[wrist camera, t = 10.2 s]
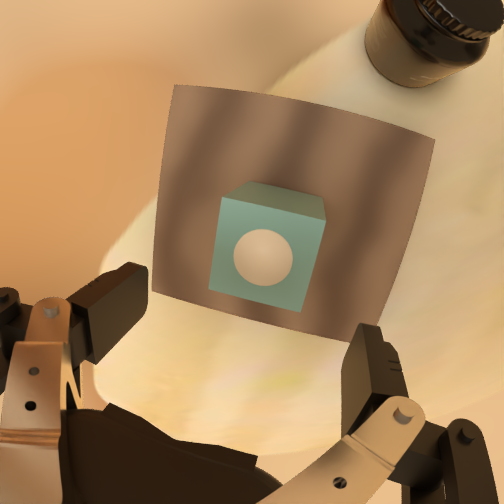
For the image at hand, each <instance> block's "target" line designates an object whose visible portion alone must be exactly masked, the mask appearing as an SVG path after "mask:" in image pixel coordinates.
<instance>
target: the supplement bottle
mask: <svg viewBox="0 0 504 504" xmlns="http://www.w3.org/2000/svg"><path fill="white" fill-rule="evenodd" d="M503 20H504V8H503V3H502V1H501V0H380V3H379V4H378V7H377V9H376V11H375V13H374V15H373V17H372V19H371V21H370V23H369V25H368V28H367V31H366V35H365V45H366V50H367V53H368V55H369V57H370V59H371V61H372V63H373V64H374V65H375V67H376V68H377V69H378V70H379V71H380V72H381V73H382V74H383V75H384V76H386V77H387V78H388V79H390V80H392V81H393V82H395V83H398V84H400V85H403V86H407V87H422V86H426V85H429V84H431V83H434V82H436V81H438V80H440V79H442V78H445V77H447V76H449V75H451V74H453V73H456V72H458V71H460V70H462V69H465V68H467V67H469V66H471V65H473V64H475V63H477V62H478V61H479V60H481V59H482V57H483V56H484V55H485V53H486V51H487V49H488V46H489V41H490V36H491V35H492V34H494V33H496V32H497V31H498V30H500V29H501V26H502V25H503V24H504V21H503Z"/></svg>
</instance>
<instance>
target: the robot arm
mask: <svg viewBox="0 0 504 504" xmlns="http://www.w3.org/2000/svg"><path fill="white" fill-rule="evenodd" d="M147 305H148V269H147V267H146V266H142V265H139V264H136V263H132V262H127V263H125V264H124V265H122V266H121V267H120V268H118V269H117V270H113V271H110V272H106V273H103V274H102V275H100V276H99V277H97V278H96V279H95V280H94V281H91V282H90V283H88V285H85V286H84V287H83V288H81V289H80V290H78V291H77V292H75V293H74V294H72V295H71V296H70V297H68V298H67V299H62V298H59V297H49V298H44V299H42V300H40V301H38V302H37V303H36V304H35V305H34V306H31V305H27V304H22V303H20V298H19V293H18V291H16V290H15V289H13V288H8V287H3V288H0V395H1V394H2V393H3V392H4V391H5V393H4V400H3V407H2V414H1V423H0V504H365V503H366V502H367V501H368V500H369V499H370V498H371V497H372V496H373V494H374V493H375V492H376V491H377V490H378V489H379V487H380V486H381V485H382V484H383V483H384V482H385V480H386V479H388V480H391V481H394V482H397V483H400V484H401V485H402V504H499V502H498V496H497V491H496V486H495V481H494V476H493V472H492V467H491V464H490V459H489V455H488V451H487V448H486V444H485V440H484V437H483V434H482V432H481V430H480V429H479V427H478V426H477V425H475V424H474V423H473V422H471V421H469V420H467V419H455V420H454V421H452V422H451V423H450V424H449V426H448V427H447V428H445V427H442V426H439V425H436V424H433V423H430V422H428V421H426V420H425V414H424V411H423V410H422V408H421V407H420V406H419V405H418V404H417V403H416V402H415V401H413V400H411V399H409V396H408V392H407V388H406V384H405V380H404V376H403V372H402V368H401V364H400V360H399V357H398V353H397V351H396V350H395V349H394V347H393V346H392V345H391V344H390V343H389V342H384V340H383V336H382V332H381V329H380V327H379V326H374V325H370V324H365V323H359V324H358V326H357V328H356V331H355V333H354V335H353V338H352V340H351V343H350V345H349V347H348V350H347V352H346V354H345V357H344V360H343V363H342V369H341V395H342V419H341V440H340V441H338V442H337V443H336V444H335V445H334V446H333V447H331V448H330V449H329V450H328V451H327V452H326V453H325V454H323V455H322V456H321V457H320V458H318V459H317V460H316V461H315V462H313V463H312V464H311V465H310V466H308V467H307V468H306V469H304V470H303V471H302V472H301V473H299V474H298V475H297V476H295V477H294V478H292V479H291V480H290V481H289V482H287V483H286V484H284V485H282V484H281V483H280V482H279V481H278V480H277V479H276V478H274V477H273V476H272V475H270V474H268V473H267V472H265V471H264V470H262V469H260V468H258V467H256V466H255V465H256V461H257V458H258V456H256V455H252V454H248V453H244V452H240V451H237V450H233V449H230V448H226V447H223V446H219V445H211V444H202V443H194V442H186V441H179V440H175V439H173V438H171V437H170V436H168V435H167V434H165V433H164V432H162V431H161V430H159V429H158V428H156V427H155V426H153V425H152V424H151V423H149V422H148V421H146V420H145V419H143V418H142V417H140V416H138V415H135V414H133V413H131V412H129V411H127V410H124V409H122V408H120V407H118V406H116V405H114V404H112V403H109V404H108V405H107V406H106V408H105V409H104V410H103V411H101V410H94V409H84V402H83V385H82V383H83V382H82V366H81V363H82V362H83V361H84V360H87V361H89V362H91V363H93V364H95V365H97V364H98V363H99V361H100V360H101V359H102V358H103V357H104V356H105V355H106V354H107V353H108V352H109V351H110V350H111V349H112V348H113V347H114V346H115V345H116V344H117V343H118V342H119V341H120V339H121V338H122V337H123V336H124V335H125V334H126V333H127V332H128V331H129V330H130V329H131V328H132V327H133V326H134V325H135V324H136V323H137V322H138V321H139V320H140V319H141V318H142V317H143V315H144V314H145V312H146V309H147ZM444 486H445V491H444ZM445 496H446V499H445Z"/></svg>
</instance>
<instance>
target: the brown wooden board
mask: <svg viewBox="0 0 504 504" xmlns="http://www.w3.org/2000/svg"><path fill="white" fill-rule="evenodd" d="M434 143H435V139H432V138H430V137H427V136H424V135H422V134H419V133H416V132H413V131H410V130H407V129H405V128H402V127H399V126H395V125H392V124H389V123H386V122H383V121H380V120H376V119H373V118H369V117H366V116H362V115H359V114H355V113H351V112H348V111H344V110H340V109H336V108H332V107H327V106H323V105H319V104H314V103H310V102H305V101H300V100H295V99H290V98H284V97H279V96H273V95H267V94H260V93H253V92H246V91H239V90H231V89H222V88H212V87H201V86H188V85H174V89H173V95H172V100H171V106H170V111H169V117H168V124H167V130H166V137H165V143H164V151H163V158H162V166H161V174H160V183H159V192H158V201H157V212H156V223H155V236H154V251H153V269H152V291H154V292H157V293H160V294H163V295H167V296H170V297H173V298H176V299H180V300H183V301H186V302H190V303H193V304H197V305H200V306H203V307H207V308H210V309H214V310H218V311H221V312H225V313H228V314H232V315H236V316H239V317H243V318H247V319H251V320H255V321H259V322H262V323H266V324H270V325H274V326H278V327H282V328H287V329H291V330H295V331H299V332H303V333H308V334H312V335H317V336H321V337H326V338H330V339H335V340H339V341H344V342H349V343H351V340H352V338H353V335H354V333H355V331H356V328H357V326H358V324H359V323H365V324H370V325H374V326H376V325H377V323H378V321H379V318H380V316H381V314H382V311H383V309H384V306H385V304H386V301H387V299H388V296H389V294H390V291H391V289H392V286H393V283H394V281H395V278H396V275H397V273H398V270H399V267H400V264H401V262H402V259H403V256H404V253H405V250H406V247H407V244H408V241H409V238H410V235H411V232H412V228H413V225H414V222H415V219H416V215H417V212H418V208H419V205H420V201H421V197H422V194H423V190H424V186H425V182H426V178H427V174H428V170H429V166H430V161H431V157H432V152H433V148H434ZM248 181H252V182H257V183H262V184H267V185H271V186H276V187H280V188H285V189H289V190H293V191H298V192H302V193H306V194H310V195H314V196H318V197H323V203H324V210H325V217H326V223H325V227H324V231H323V235H322V239H321V243H320V246H319V250H318V254H317V257H316V261H315V265H314V268H313V272H312V275H311V279H310V282H309V286H308V289H307V292H306V296H305V299H304V303H303V306H302V309H301V313H300V312H296V311H291V310H287V309H283V308H279V307H275V306H271V305H267V304H263V303H259V302H255V301H251V300H248V299H244V298H240V297H236V296H232V295H229V294H225V293H221V292H217V291H214V290H210V289H208V288H209V281H210V273H211V266H212V259H213V252H214V245H215V239H216V232H217V225H218V219H219V213H220V206H221V200H222V197H223V196H225V195H226V194H228V193H230V192H231V191H233V190H235V189H236V188H238V187H240V186H242V185H243V184H245V183H247V182H248Z"/></svg>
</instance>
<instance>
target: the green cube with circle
mask: <svg viewBox="0 0 504 504" xmlns="http://www.w3.org/2000/svg"><path fill="white" fill-rule="evenodd" d="M325 223H326V217H325V210H324V203H323V197H318V196H314V195H310V194H306V193H302V192H298V191H293V190H289V189H285V188H280V187H276V186H271V185H267V184H262V183H257V182H252V181H248V182H247V183H245V184H243V185H242V186H240V187H238V188H236V189H235V190H233V191H231V192H230V193H228V194H226V195H225V196H223V197H222V200H221V206H220V213H219V219H218V225H217V232H216V239H215V245H214V252H213V259H212V266H211V273H210V281H209V288H208V289H210V290H214V291H217V292H221V293H225V294H229V295H232V296H236V297H240V298H244V299H248V300H251V301H255V302H259V303H263V304H267V305H271V306H275V307H279V308H283V309H287V310H291V311H296V312H300V313H301V309H302V306H303V303H304V299H305V296H306V292H307V289H308V286H309V282H310V279H311V275H312V272H313V268H314V265H315V261H316V257H317V254H318V250H319V246H320V243H321V239H322V235H323V231H324V227H325Z"/></svg>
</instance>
